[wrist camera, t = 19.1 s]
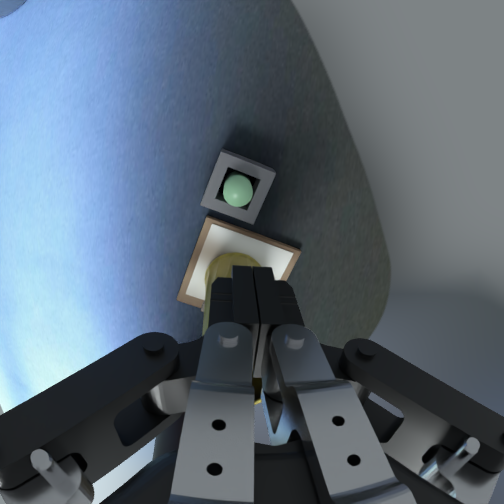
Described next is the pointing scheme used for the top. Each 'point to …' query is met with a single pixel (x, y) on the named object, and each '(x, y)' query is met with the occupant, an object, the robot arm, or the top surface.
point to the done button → (237, 189)
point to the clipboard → (229, 241)
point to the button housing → (260, 188)
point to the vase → (223, 269)
